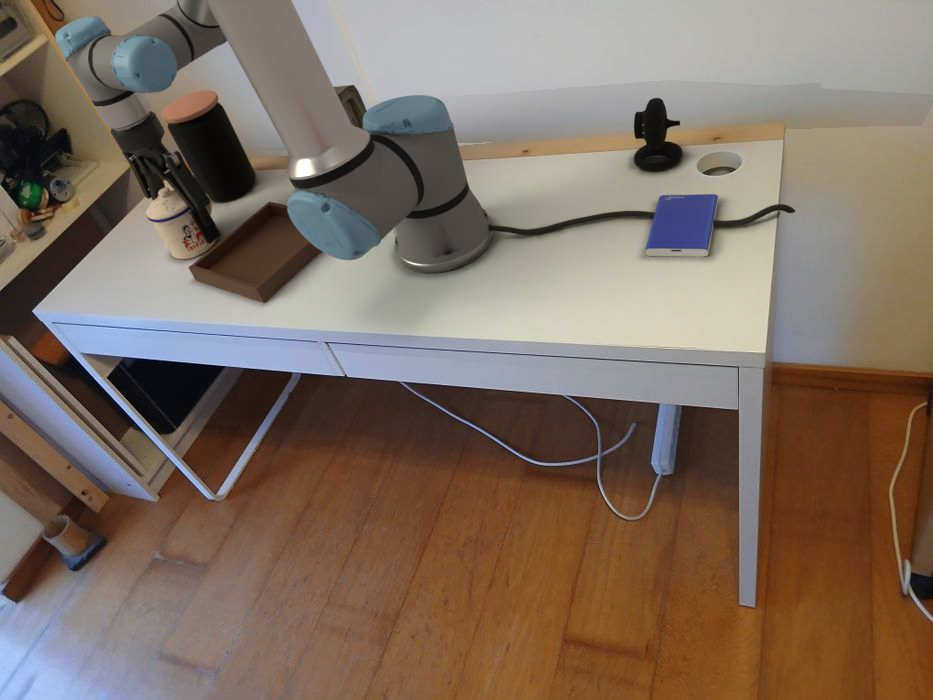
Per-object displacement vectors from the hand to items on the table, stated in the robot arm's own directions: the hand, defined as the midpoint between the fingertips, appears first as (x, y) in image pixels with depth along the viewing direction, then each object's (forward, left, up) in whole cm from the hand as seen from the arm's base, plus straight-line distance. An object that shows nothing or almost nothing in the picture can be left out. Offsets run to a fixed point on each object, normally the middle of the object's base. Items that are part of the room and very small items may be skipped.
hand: (198, 234), depth 136 cm
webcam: (-69, -42, -2) cm, 81 cm away
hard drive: (-80, -26, -2) cm, 84 cm away
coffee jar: (+8, -15, -2) cm, 17 cm away
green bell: (-19, -21, -2) cm, 28 cm away
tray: (-18, -1, -1) cm, 18 cm away
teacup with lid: (0, 0, -2) cm, 2 cm away
